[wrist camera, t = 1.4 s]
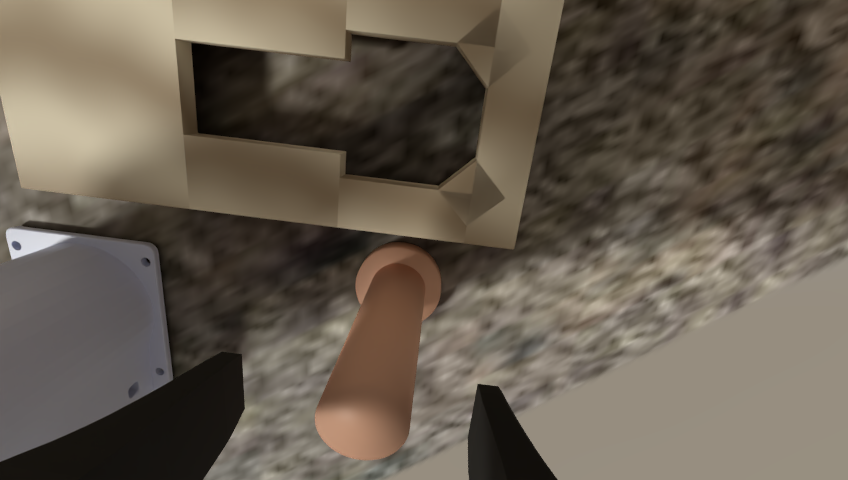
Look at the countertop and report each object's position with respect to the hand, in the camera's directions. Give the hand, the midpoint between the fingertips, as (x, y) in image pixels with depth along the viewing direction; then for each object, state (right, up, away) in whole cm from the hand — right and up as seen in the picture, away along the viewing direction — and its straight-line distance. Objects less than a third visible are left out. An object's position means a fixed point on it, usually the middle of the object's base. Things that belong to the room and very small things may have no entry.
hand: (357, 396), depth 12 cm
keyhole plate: (-4, +11, +6) cm, 14 cm away
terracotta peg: (+1, +3, +9) cm, 10 cm away
